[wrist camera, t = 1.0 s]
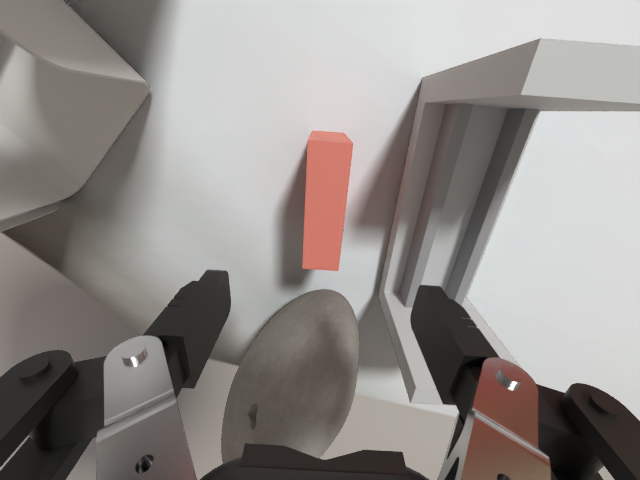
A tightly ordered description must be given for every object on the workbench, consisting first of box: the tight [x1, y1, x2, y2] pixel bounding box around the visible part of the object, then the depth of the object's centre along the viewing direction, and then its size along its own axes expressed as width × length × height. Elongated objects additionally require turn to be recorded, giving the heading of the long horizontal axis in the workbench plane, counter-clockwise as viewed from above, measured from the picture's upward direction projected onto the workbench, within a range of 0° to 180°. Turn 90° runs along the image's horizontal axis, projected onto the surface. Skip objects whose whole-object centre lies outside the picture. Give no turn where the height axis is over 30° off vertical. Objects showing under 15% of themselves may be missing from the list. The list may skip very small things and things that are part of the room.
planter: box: [221, 289, 359, 464], centre depth 27 cm, size 18×7×19 cm, turn 136°
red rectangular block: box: [302, 131, 353, 271], centre depth 23 cm, size 10×3×9 cm, turn 176°
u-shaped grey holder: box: [378, 38, 640, 406], centre depth 22 cm, size 24×10×14 cm, turn 176°
